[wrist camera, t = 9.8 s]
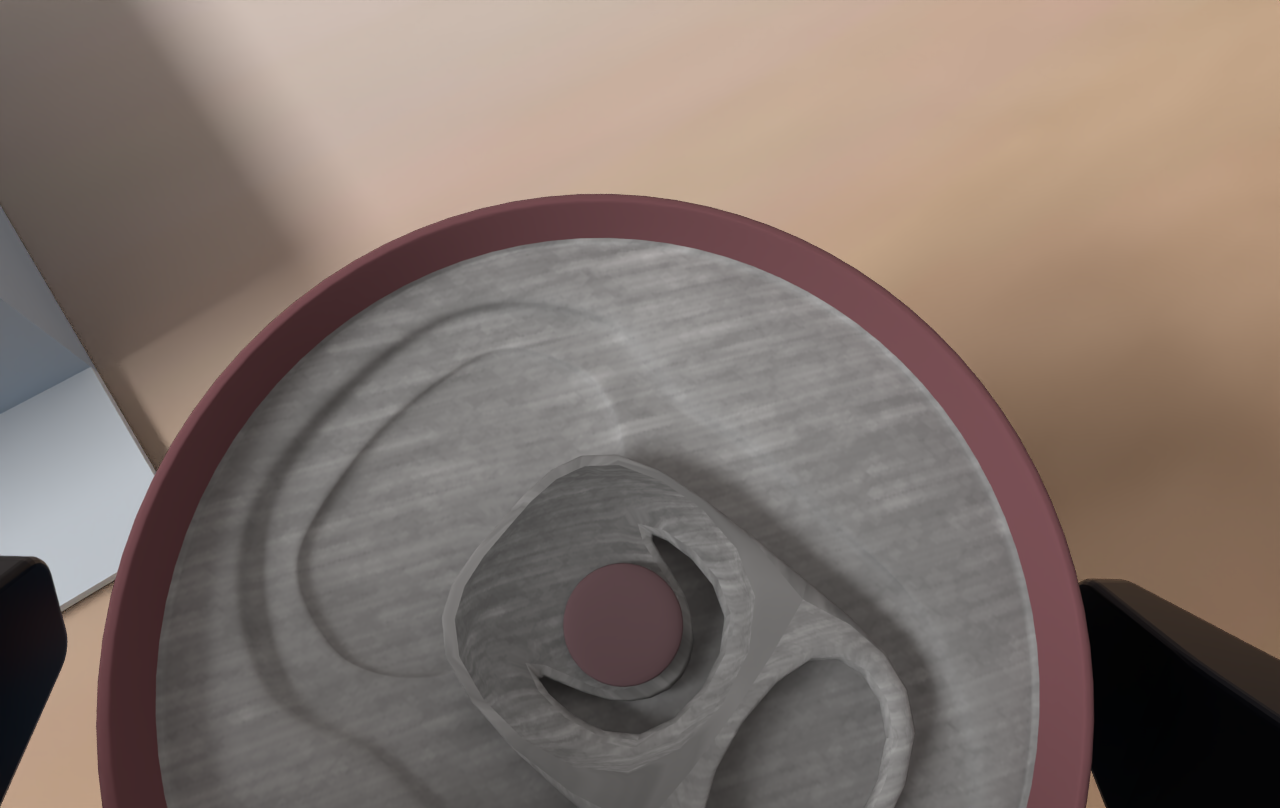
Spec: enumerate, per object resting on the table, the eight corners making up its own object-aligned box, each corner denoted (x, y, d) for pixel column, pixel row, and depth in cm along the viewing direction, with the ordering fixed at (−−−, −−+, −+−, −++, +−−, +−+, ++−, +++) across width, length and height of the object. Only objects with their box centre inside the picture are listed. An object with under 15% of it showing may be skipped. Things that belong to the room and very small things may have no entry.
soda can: (288, 711, 16) (-356, 731, 4) (541, 427, 18) (552, -50, 7) (590, 980, 15) (764, 1864, 4) (816, 648, 17) (1369, 537, 6)
